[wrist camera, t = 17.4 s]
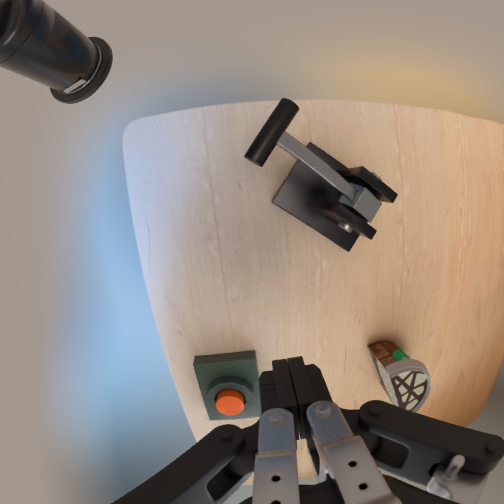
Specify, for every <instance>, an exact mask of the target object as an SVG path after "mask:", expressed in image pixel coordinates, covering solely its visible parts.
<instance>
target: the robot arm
mask: <svg viewBox="0 0 504 504" xmlns="http://www.w3.org/2000/svg"><path fill="white" fill-rule="evenodd" d="M102 59H103V55H102V51H101V49H100V47H99V46H98V45H96V44H95V43H93V42H92V41H91V40H90V39H89V38H88V37H86V36H85V35H84V34H83V33H82V32H81V31H79V30H78V29H77V28H76V27H75V26H73V25H72V24H71V23H70V22H69V21H67V20H66V19H65V18H64V17H63V16H61V15H60V14H59V13H57V12H56V11H55V10H54V9H53V8H51V7H50V6H49V5H47V4H46V3H45V2H44V1H43V0H0V67H2V68H4V69H7V70H10V71H12V72H15V73H17V74H20V75H22V76H25V77H27V78H30V79H32V80H34V81H37V82H39V83H41V84H44V85H46V86H48V87H50V88H53V89H55V90H57V91H58V92H60V93H62V94H66V95H70V94H75V93H77V92H79V91H81V90H83V89H84V88H85V87H87V86H88V85H89V84H90V83H91V82H92V81H93V79H94V78H95V77H96V75H97V74H98V72H99V70H100V67H101V64H102ZM287 363H288V364H287ZM272 366H273V370H272V371H265V372H262V374H261V375H260V377H259V388H260V401H261V417H260V419H259V420H258V421H257V422H256V423H255V424H253V425H252V426H249V427H246V428H243V429H240V428H239V427H238V426H235V425H230V424H226V425H221V426H218V427H216V428H215V429H213V430H212V431H211V432H210V433H208V434H207V435H206V436H205V437H204V438H202V439H201V440H200V441H199V442H197V443H196V444H195V445H194V446H192V447H191V448H190V449H189V450H187V451H186V452H185V453H184V454H182V455H181V456H180V457H178V458H177V459H176V460H174V461H173V462H172V463H170V464H169V465H168V466H166V467H165V468H164V469H162V470H161V471H160V472H158V473H157V474H155V475H154V476H152V477H151V478H150V479H148V480H147V481H145V482H144V483H142V484H141V485H139V486H138V487H136V488H135V489H133V490H132V491H130V492H129V493H127V494H126V495H124V496H123V497H121V498H119V499H118V500H116V501H115V502H113V503H111V504H222V503H224V502H225V500H227V499H228V498H229V497H230V496H231V495H232V494H233V493H234V492H235V491H236V490H237V489H238V488H239V487H240V486H241V485H242V484H243V483H244V482H245V481H246V480H247V479H248V478H249V477H250V476H251V474H252V472H254V482H253V496H252V497H250V498H248V499H246V500H244V501H242V502H241V503H239V504H476V503H477V501H478V499H479V497H480V494H481V492H482V490H483V488H484V486H485V483H486V481H487V478H488V476H489V475H490V474H491V472H492V471H493V470H494V468H495V467H496V465H497V464H498V463H499V461H500V460H501V458H502V457H503V455H504V440H503V439H502V438H501V437H499V436H497V435H493V434H488V433H483V432H480V431H476V430H472V429H469V428H465V427H461V426H458V425H454V424H451V423H447V422H444V421H440V420H437V419H434V418H431V417H428V416H424V415H421V414H418V413H415V412H412V411H409V410H406V409H403V408H401V407H398V406H395V405H392V404H389V403H387V402H384V401H380V400H373V401H369V402H366V403H365V404H363V405H362V406H361V407H360V409H359V410H347V409H342V408H340V407H338V405H337V404H335V403H334V402H333V401H332V398H331V396H330V393H329V391H328V388H327V386H326V383H325V380H324V378H323V375H322V373H321V370H320V369H319V368H318V367H317V366H316V365H314V364H310V365H305V364H304V361H303V358H302V356H300V357H293V358H287V359H281V360H273V361H272ZM299 434H300V438H301V439H305V438H306V441H307V451H308V454H309V457H310V460H311V463H312V466H313V469H314V472H315V475H316V478H317V481H318V484H316V485H299V483H298V468H297V455H296V451H297V441H296V440H299ZM378 467H379V468H381V469H383V470H386V471H388V472H391V473H393V474H395V475H398V476H400V477H402V478H405V479H408V480H410V481H413V482H415V483H418V484H421V485H424V486H426V487H427V491H428V492H427V491H424V490H421V489H419V488H417V487H414V486H412V485H410V484H407V483H405V482H403V481H401V480H398V479H396V478H394V477H391V476H388V475H384V474H381V472H380V470H379V468H378Z"/></svg>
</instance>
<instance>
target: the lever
mask: <svg viewBox="0 0 504 504" xmlns="http://www.w3.org/2000/svg"><path fill="white" fill-rule="evenodd" d="M298 111H299V107H298V106H297V105H296V104H295V103H294V102H293V101H291V100H289V99H286V98H282V99H281V101H280V102H279V104H278V105H277V107H276V108H275V110H274V111H273V113H272V114H271V115H270V117H269V118H268V120H267V122H266V123H265V125H264V126H263V128H262V129H261V131H260V132H259V134H258V135H257V137H256V138H255V140H254V141H253V143H252V145H251V146H250V148H249V149H248V151H247V152H246V154H245V156H244V157H245V158H246V159H248V160H249V161H251V162H252V163H254V164H256V165H258V166H260V167H262V166H263V165H264V163H265V162H266V160H267V158H268V157H269V155H270V154H271V152H272V151H273V149H274V147H275V146H276V145H278V146H279V147H280V148H282V149H283V150H285V151H286V152H287V153H289V154H290V155H291V156H293V157H294V158H295V159H297V160H298V161H299V162H301V163H302V164H303V165H305V166H306V167H307V168H309V169H310V170H311V171H313V172H314V173H315V174H316V175H318V176H319V177H320V178H322V179H323V180H324V181H325V182H327V183H328V184H329V185H330V186H332V187H333V188H334V189H335V190H336V191H338V192H339V193H340V194H341V195H342V196H341V198H340V200H339V202H340V203H341V204H342V205H344V206H345V207H346V208H347V209H348V210H350V211H351V212H352V213H354V214H355V215H357V216H358V217H360V218H362V219H364V220H366V221H368V222H371V221H372V219H373V218H374V216H375V214H376V213H377V211H378V209H379V207H380V206H381V204H382V203H381V202H380V201H379V200H378V199H377V198H376V197H375V196H374V195H373V194H372V193H371V192H370V191H369V190H368V189H367V188H365V187H362V186H359V185H356V184H353V183H348V182H347V181H346V180H345V179H344V178H343V177H341V176H340V175H339V174H338V173H337V172H336V171H334V170H333V169H332V168H331V167H330V166H329V165H327V164H326V163H325V162H324V161H323V160H321V159H320V158H319V157H318V156H316V155H315V154H314V153H313V152H311V151H310V150H309V149H308V148H306V147H305V146H304V145H303V144H301V143H300V142H299V141H297V140H296V139H295V138H294V137H292V136H291V135H290V134H288V133H287V132H286V131H285V130H286V129H287V127H288V126H289V124H290V123H291V121H292V120H293V118H294V117H295V115H296V114H297V112H298Z"/></svg>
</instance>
